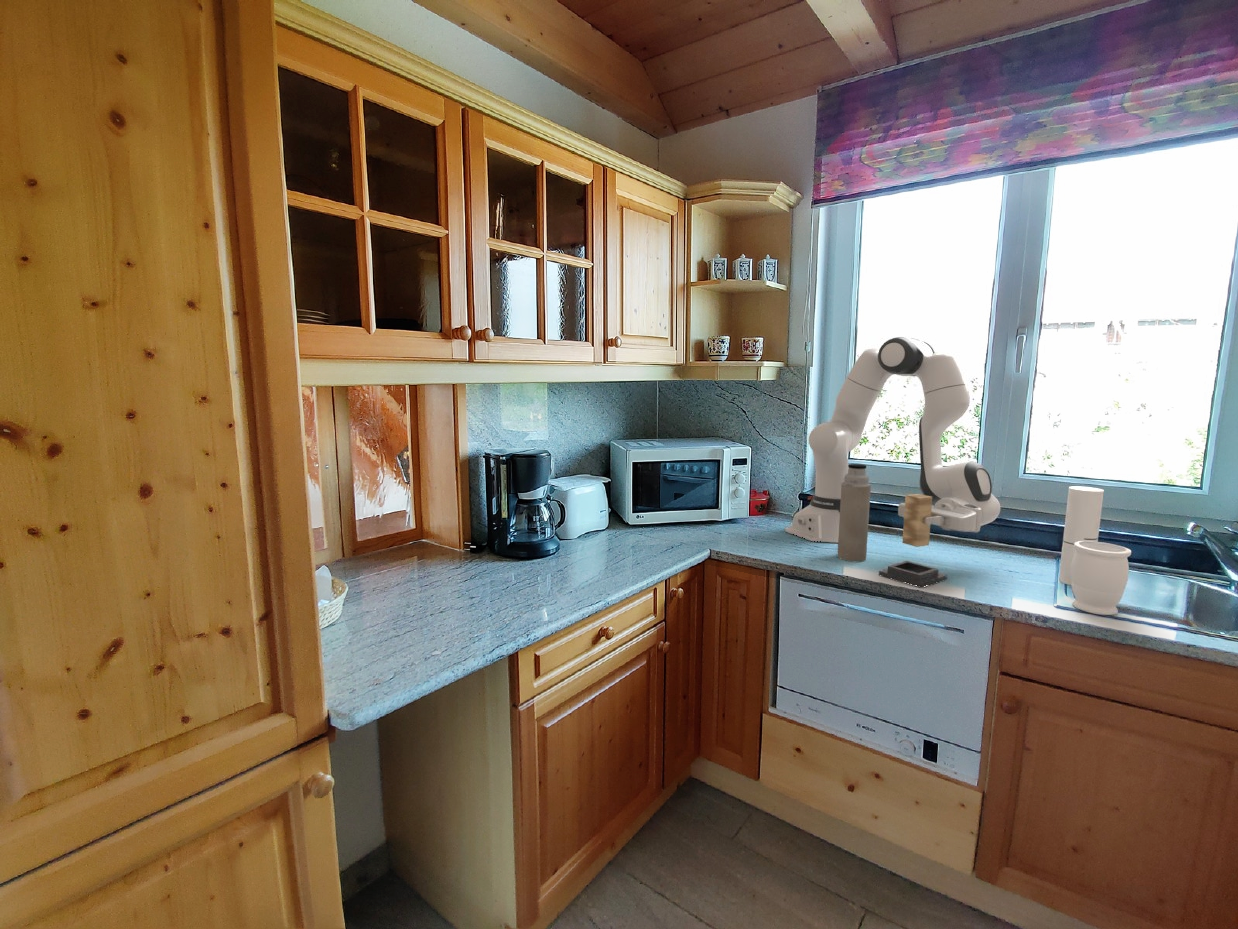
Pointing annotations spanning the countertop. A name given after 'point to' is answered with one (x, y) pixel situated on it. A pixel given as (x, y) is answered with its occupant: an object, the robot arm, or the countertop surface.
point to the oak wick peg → (916, 520)
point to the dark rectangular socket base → (913, 573)
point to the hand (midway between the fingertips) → (914, 518)
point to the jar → (1099, 576)
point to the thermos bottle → (854, 514)
